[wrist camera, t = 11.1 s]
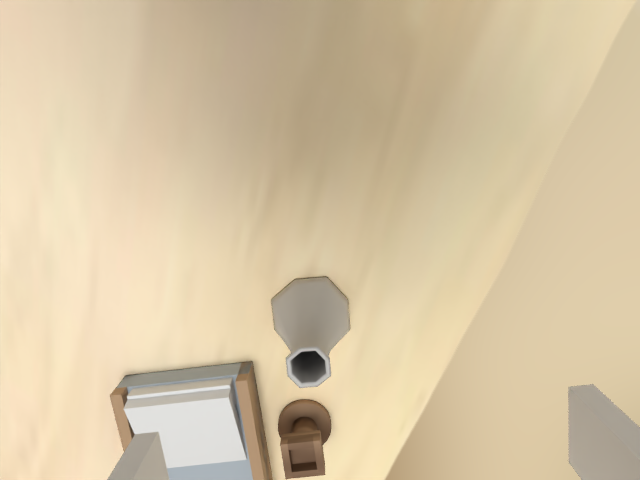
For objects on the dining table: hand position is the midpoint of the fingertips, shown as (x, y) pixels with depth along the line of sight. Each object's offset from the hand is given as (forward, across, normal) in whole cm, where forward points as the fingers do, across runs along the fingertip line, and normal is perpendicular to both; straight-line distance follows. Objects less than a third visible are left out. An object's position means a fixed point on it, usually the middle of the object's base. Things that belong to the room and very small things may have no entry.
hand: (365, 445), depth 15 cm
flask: (+27, -3, -6) cm, 28 cm away
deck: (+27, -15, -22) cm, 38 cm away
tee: (+27, -5, -17) cm, 32 cm away
